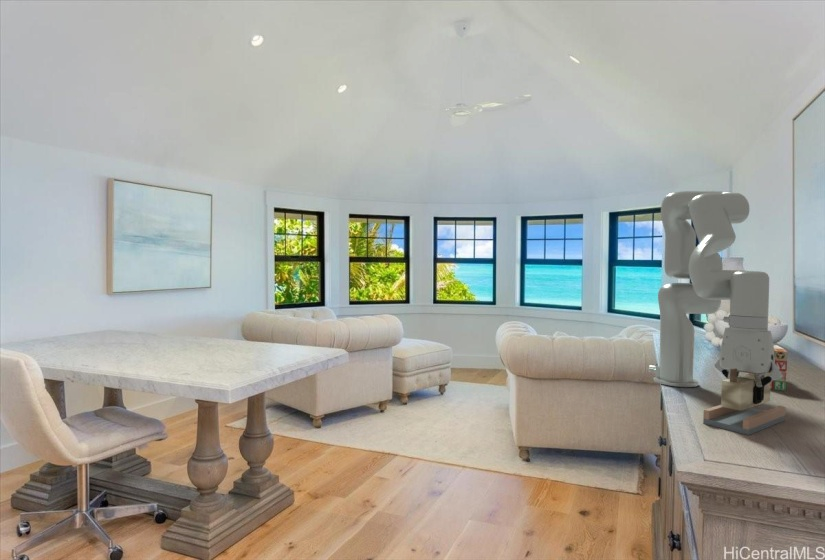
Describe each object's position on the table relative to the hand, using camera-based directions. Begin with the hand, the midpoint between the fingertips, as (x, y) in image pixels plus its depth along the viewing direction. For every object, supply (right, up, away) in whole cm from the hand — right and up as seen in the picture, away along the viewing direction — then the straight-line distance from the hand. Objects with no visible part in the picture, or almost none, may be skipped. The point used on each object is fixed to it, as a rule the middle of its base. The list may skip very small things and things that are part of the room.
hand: (746, 399), depth 117 cm
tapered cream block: (0, -1, 0) cm, 1 cm away
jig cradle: (0, -5, 0) cm, 5 cm away
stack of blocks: (+35, -5, +43) cm, 56 cm away
